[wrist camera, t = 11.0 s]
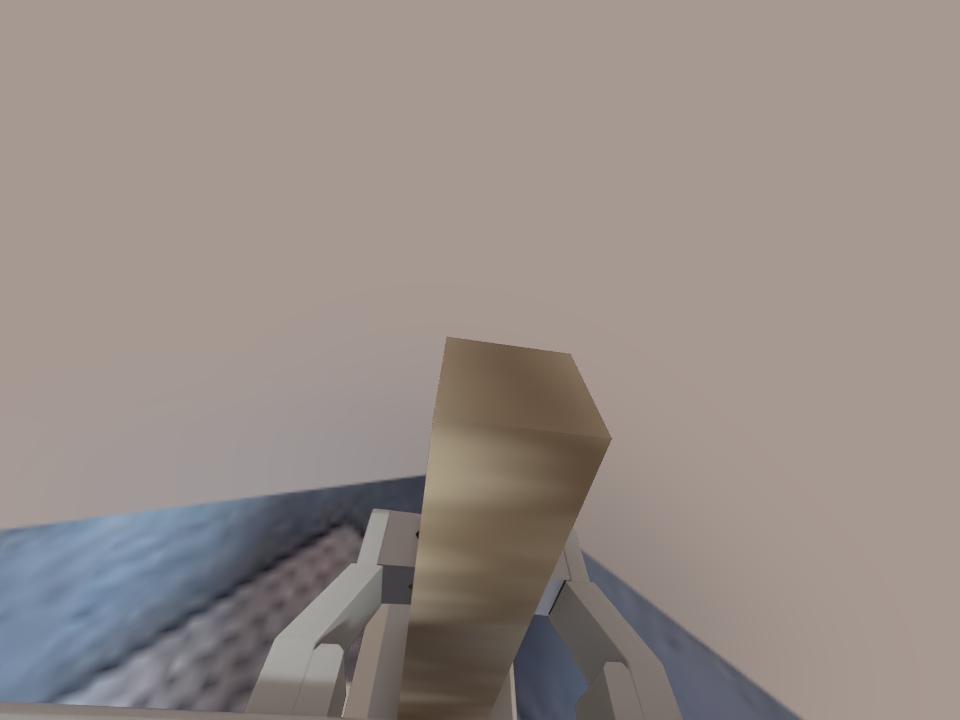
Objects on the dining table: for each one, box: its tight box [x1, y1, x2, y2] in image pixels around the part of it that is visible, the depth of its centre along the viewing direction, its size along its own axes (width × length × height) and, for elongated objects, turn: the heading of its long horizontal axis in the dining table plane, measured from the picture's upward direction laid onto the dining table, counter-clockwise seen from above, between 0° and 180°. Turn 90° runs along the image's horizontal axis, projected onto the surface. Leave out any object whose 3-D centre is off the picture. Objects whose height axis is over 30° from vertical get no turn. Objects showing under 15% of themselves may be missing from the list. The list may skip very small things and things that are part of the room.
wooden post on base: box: [367, 337, 612, 720], centre depth 10 cm, size 5×7×14 cm
